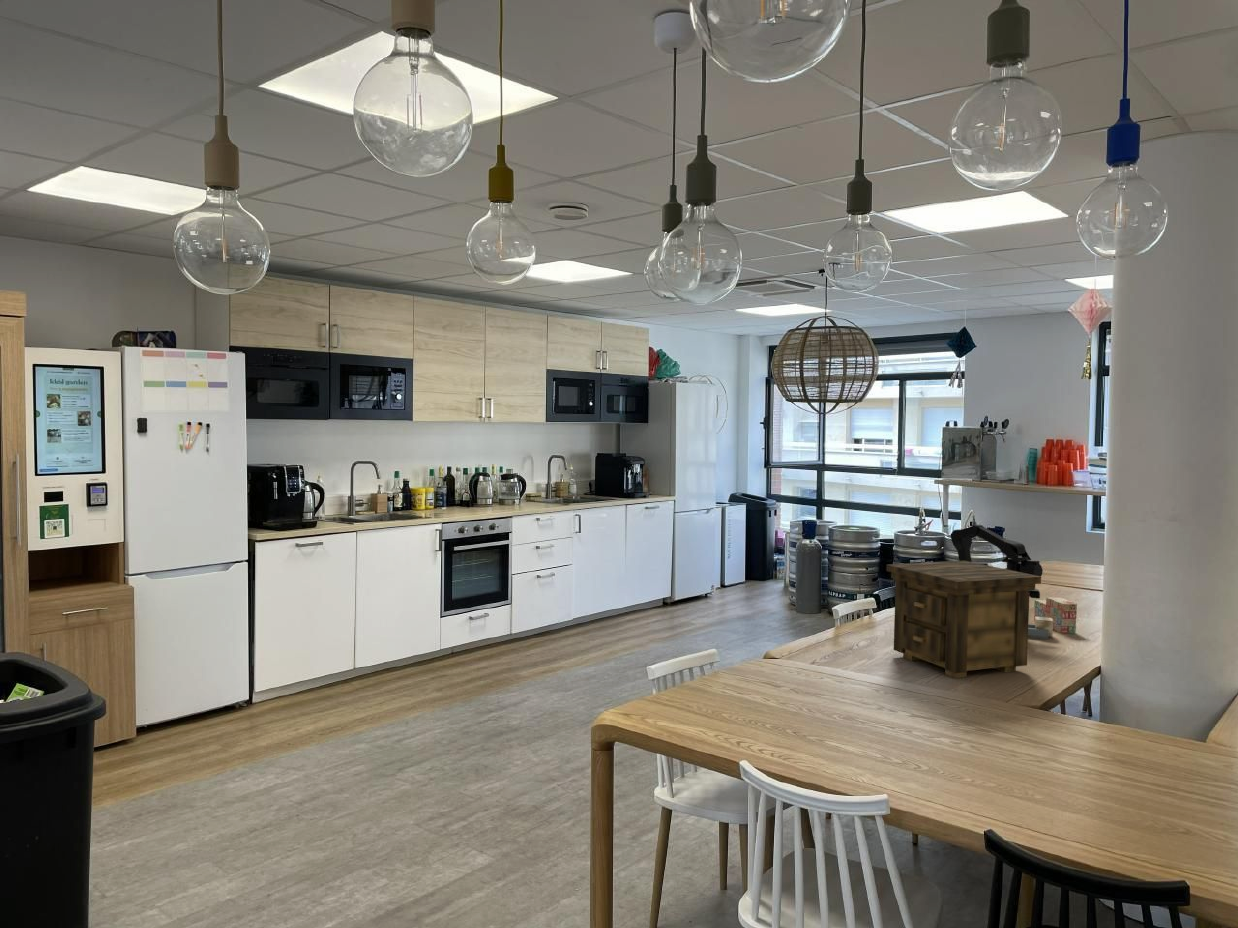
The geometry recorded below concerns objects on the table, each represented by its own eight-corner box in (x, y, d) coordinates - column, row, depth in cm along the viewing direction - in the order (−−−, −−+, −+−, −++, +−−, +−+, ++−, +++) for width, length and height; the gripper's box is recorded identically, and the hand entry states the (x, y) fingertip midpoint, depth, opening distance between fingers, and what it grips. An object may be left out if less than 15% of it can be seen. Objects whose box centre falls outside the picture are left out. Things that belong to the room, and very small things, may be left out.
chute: (992, 633, 340) (992, 624, 340) (992, 628, 348) (992, 620, 348) (1048, 639, 332) (1048, 630, 332) (1046, 634, 340) (1047, 625, 340)
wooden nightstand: (1037, 673, 284) (1041, 576, 283) (954, 683, 272) (957, 581, 271) (961, 647, 317) (964, 560, 316) (883, 655, 305) (886, 564, 303)
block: (1035, 634, 335) (1036, 619, 335) (1034, 631, 341) (1035, 616, 340) (1052, 636, 333) (1053, 620, 333) (1051, 632, 338) (1052, 617, 338)
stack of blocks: (1033, 621, 364) (1034, 592, 364) (1047, 621, 364) (1049, 592, 364) (1060, 633, 343) (1062, 603, 342) (1076, 633, 343) (1077, 603, 342)
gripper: (988, 575, 336) (987, 614, 337) (1041, 579, 329) (1039, 619, 330) (988, 571, 347) (987, 609, 347) (1039, 575, 339) (1038, 614, 340)
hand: (1012, 613), depth 341 cm, fingers closed
